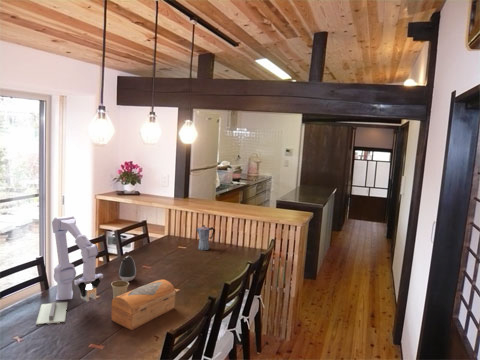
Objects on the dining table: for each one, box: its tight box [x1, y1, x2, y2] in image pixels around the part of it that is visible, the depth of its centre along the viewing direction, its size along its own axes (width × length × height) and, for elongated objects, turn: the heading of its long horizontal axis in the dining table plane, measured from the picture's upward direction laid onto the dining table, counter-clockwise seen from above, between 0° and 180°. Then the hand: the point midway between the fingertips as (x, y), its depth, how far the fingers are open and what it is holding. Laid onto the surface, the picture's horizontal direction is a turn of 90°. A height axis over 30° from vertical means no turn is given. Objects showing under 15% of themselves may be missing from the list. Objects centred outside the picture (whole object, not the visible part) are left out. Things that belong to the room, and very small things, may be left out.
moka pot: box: [195, 224, 215, 251], centre depth 303 cm, size 10×15×20 cm, turn 107°
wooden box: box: [110, 279, 177, 331], centre depth 189 cm, size 30×16×14 cm, turn 147°
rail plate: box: [35, 300, 68, 325], centre depth 182 cm, size 20×12×3 cm, turn 21°
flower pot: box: [110, 280, 130, 299], centre depth 203 cm, size 9×9×9 cm
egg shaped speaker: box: [118, 255, 137, 282], centre depth 229 cm, size 10×10×15 cm
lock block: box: [80, 283, 98, 302], centre depth 189 cm, size 6×5×6 cm
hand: (88, 294), depth 189 cm, fingers closed on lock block, 5 cm apart
